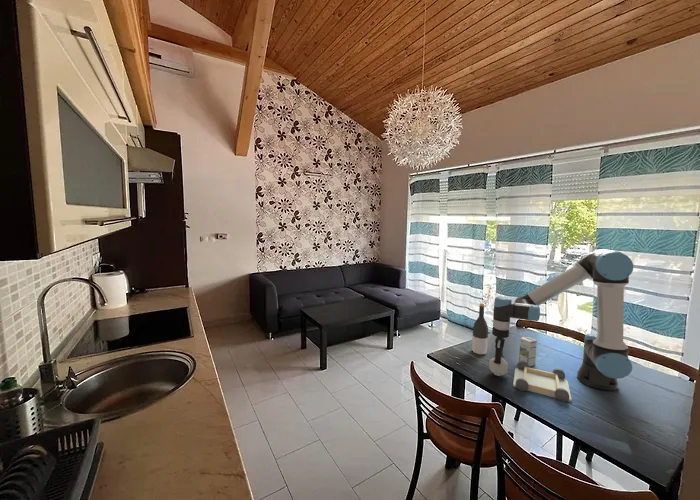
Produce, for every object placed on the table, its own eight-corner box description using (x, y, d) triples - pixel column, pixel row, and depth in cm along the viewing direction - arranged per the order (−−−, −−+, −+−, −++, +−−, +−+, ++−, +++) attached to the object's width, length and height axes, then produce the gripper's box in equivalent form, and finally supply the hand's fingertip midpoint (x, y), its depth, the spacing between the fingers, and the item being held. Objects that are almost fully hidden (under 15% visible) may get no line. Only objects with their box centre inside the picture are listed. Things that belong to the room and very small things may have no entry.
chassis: (566, 380, 145) (567, 370, 145) (571, 404, 126) (572, 393, 125) (515, 368, 157) (516, 359, 156) (512, 388, 137) (513, 378, 137)
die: (511, 380, 144) (511, 360, 143) (491, 379, 145) (492, 359, 144) (504, 372, 152) (505, 353, 152) (486, 371, 154) (486, 352, 153)
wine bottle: (468, 352, 176) (471, 302, 173) (478, 350, 179) (481, 301, 176) (479, 357, 168) (482, 306, 166) (489, 355, 172) (492, 304, 169)
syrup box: (535, 366, 160) (537, 339, 158) (527, 367, 157) (529, 341, 156) (525, 361, 165) (527, 336, 164) (518, 363, 163) (519, 337, 161)
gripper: (494, 321, 158) (491, 362, 160) (490, 332, 142) (487, 378, 144) (510, 323, 154) (507, 366, 156) (507, 335, 138) (504, 382, 140)
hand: (497, 372), depth 150 cm, fingers closed on die, 6 cm apart
